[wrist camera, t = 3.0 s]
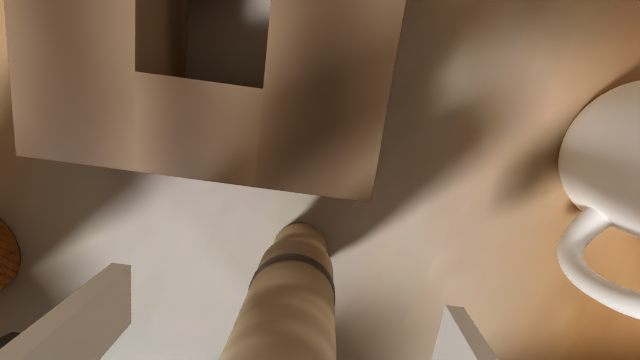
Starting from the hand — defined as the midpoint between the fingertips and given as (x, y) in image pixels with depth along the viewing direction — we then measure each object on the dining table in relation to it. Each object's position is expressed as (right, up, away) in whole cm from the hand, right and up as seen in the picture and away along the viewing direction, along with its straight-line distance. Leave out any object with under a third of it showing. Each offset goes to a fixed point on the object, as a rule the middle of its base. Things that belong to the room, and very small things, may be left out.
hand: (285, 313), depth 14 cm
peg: (0, +1, +7) cm, 7 cm away
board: (-3, +14, +4) cm, 15 cm away
